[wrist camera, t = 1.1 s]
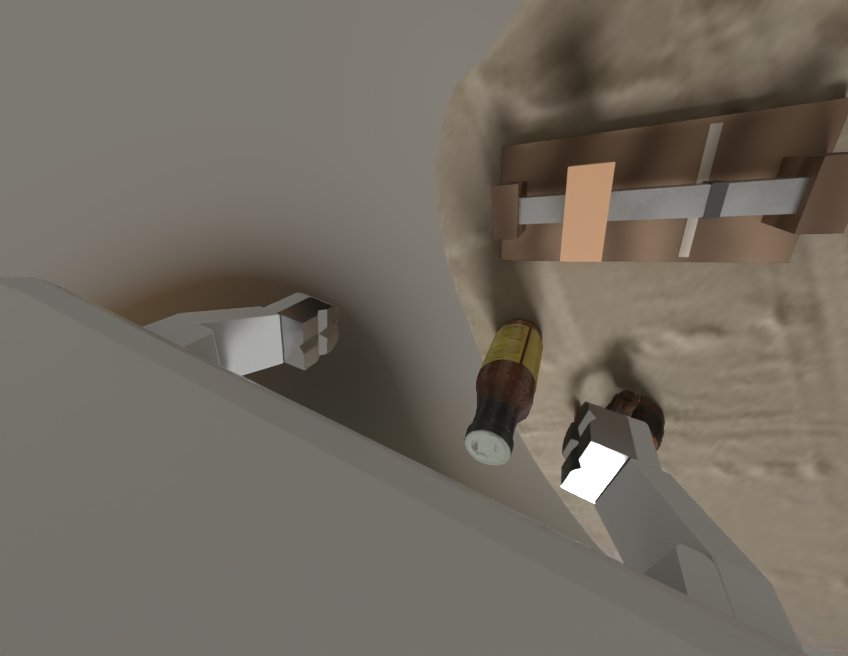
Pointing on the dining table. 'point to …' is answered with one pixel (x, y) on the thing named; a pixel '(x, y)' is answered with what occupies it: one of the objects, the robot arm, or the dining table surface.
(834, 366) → the dining table surface
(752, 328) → the dining table surface
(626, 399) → the broken clay pot
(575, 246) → the collar
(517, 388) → the sauce bottle
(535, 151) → the rod stand
